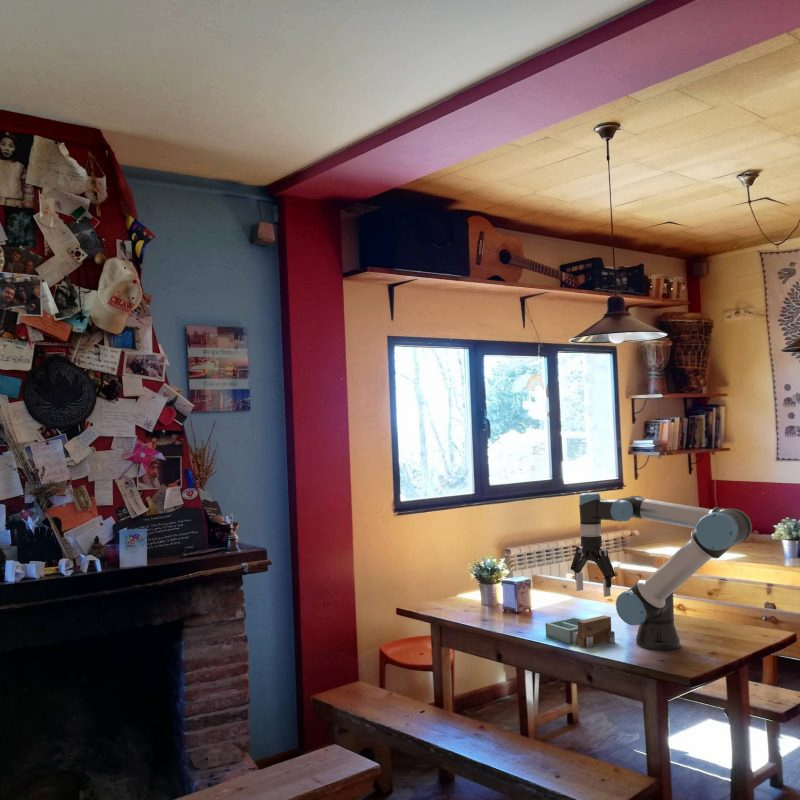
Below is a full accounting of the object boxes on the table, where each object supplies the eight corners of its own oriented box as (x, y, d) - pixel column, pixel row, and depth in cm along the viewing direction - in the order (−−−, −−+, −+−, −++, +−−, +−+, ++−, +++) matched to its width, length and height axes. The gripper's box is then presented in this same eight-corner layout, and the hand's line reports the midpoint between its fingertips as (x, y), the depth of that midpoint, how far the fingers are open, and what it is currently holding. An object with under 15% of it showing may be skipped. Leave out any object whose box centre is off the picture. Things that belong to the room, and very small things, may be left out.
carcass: (599, 637, 298) (598, 623, 299) (570, 643, 290) (569, 630, 291) (574, 629, 309) (574, 617, 310) (545, 636, 301) (545, 623, 302)
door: (613, 641, 292) (612, 617, 292) (586, 648, 285) (585, 623, 285) (605, 639, 295) (604, 615, 296) (578, 646, 288) (577, 621, 288)
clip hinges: (614, 642, 291) (614, 631, 291) (588, 648, 284) (588, 637, 284) (597, 637, 298) (597, 626, 298) (571, 643, 291) (571, 632, 291)
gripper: (624, 537, 283) (626, 597, 282) (574, 530, 304) (576, 586, 303) (609, 539, 279) (611, 600, 278) (559, 532, 300) (561, 589, 299)
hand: (593, 593), depth 291 cm, fingers open, 13 cm apart
